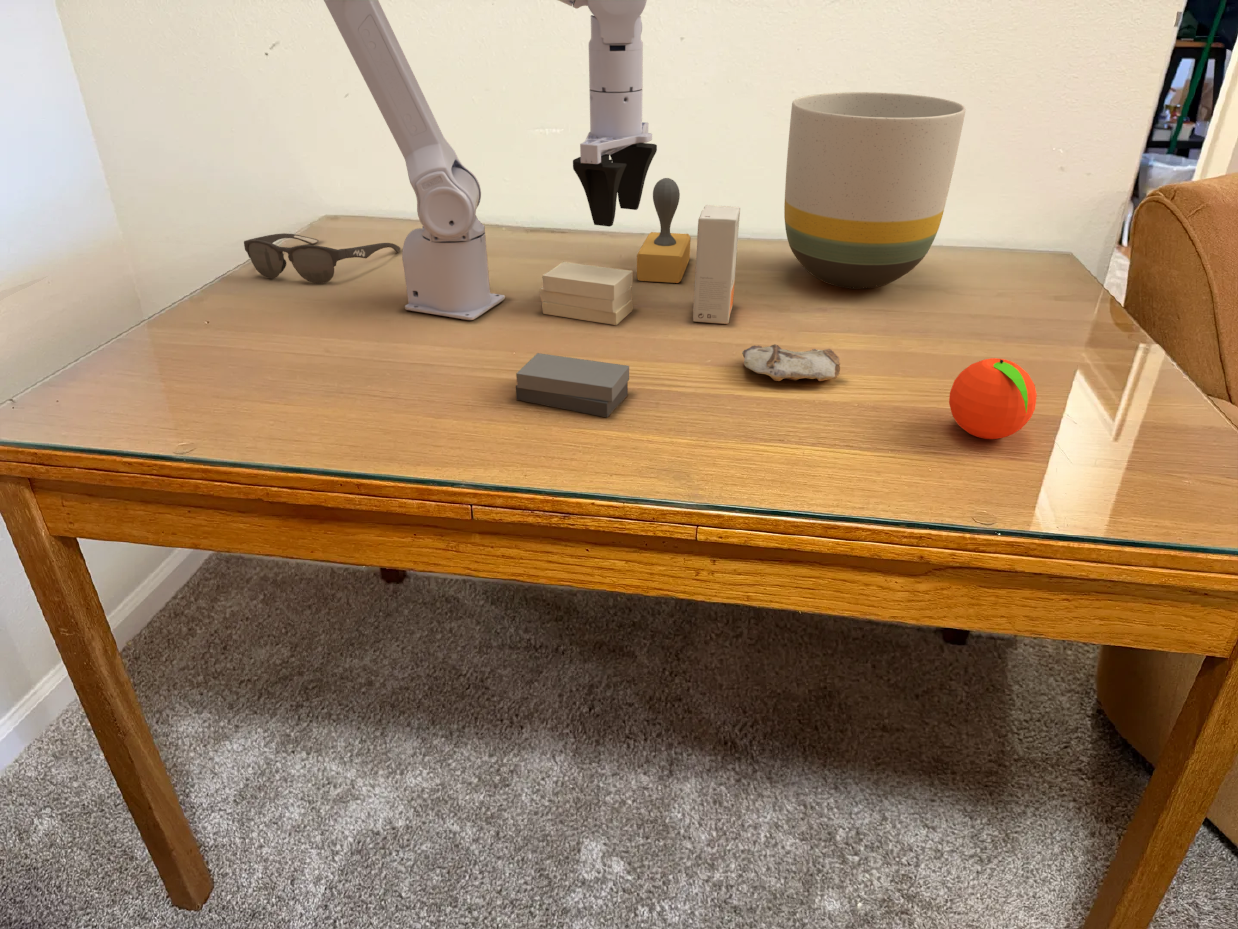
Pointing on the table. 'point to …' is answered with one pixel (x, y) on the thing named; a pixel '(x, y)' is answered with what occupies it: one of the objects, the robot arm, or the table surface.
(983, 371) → the clementine
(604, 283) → the cream rectangular block
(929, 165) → the planter
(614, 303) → the white books
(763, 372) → the stone
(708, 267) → the cosmetic box
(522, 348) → the table surface
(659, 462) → the table surface
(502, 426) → the table surface
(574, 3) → the robot arm
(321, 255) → the sunglasses
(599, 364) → the grey books
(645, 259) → the rubber stamp
